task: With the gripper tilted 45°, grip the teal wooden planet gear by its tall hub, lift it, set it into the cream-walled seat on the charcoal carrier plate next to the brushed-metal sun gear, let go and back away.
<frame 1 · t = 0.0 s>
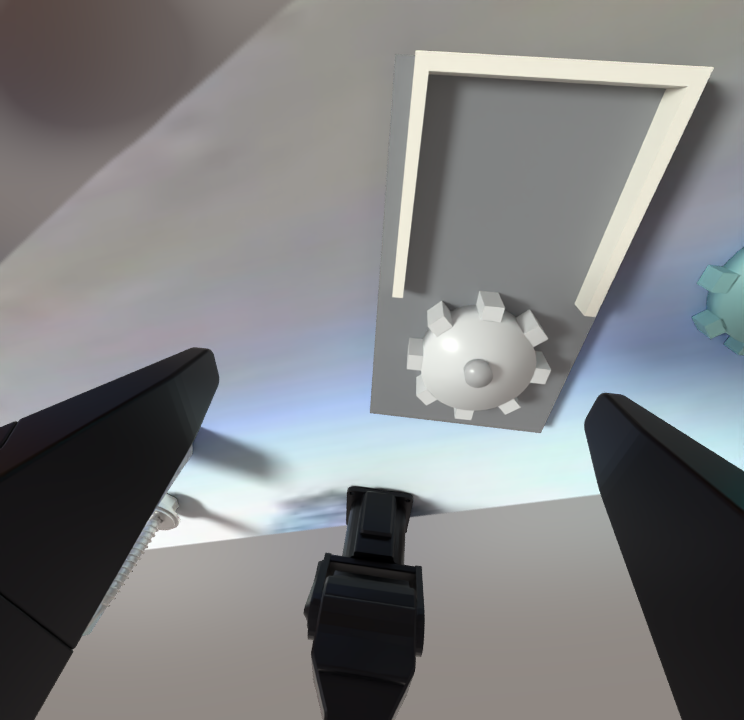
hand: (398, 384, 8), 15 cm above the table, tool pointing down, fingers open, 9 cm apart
screw: (168, 498, 41), on the table
carrier plate: (484, 287, 22), on the table
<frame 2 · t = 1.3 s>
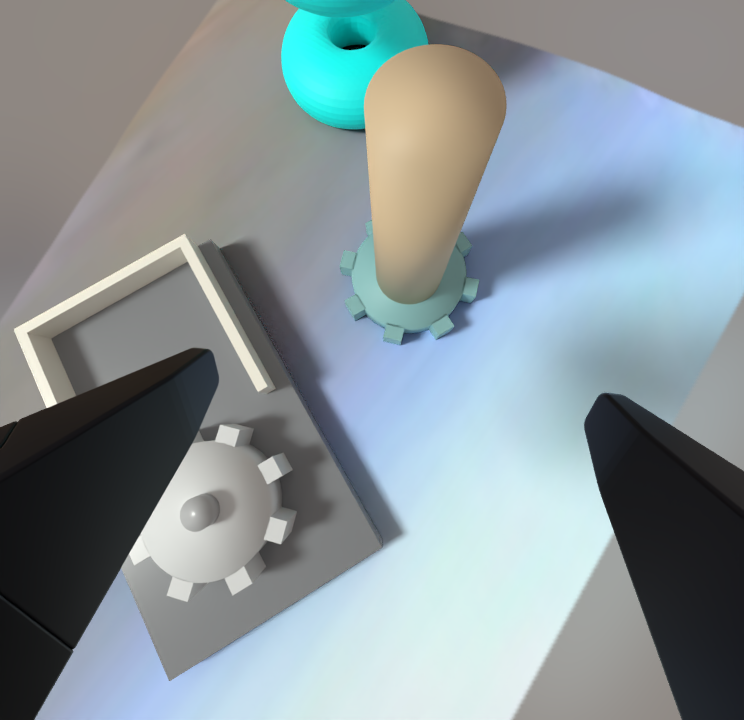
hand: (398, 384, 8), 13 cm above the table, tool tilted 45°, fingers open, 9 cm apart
carrier plate: (202, 437, 22), on the table
planet gear: (407, 280, 23), on the table
donuts: (357, 81, 26), on the table
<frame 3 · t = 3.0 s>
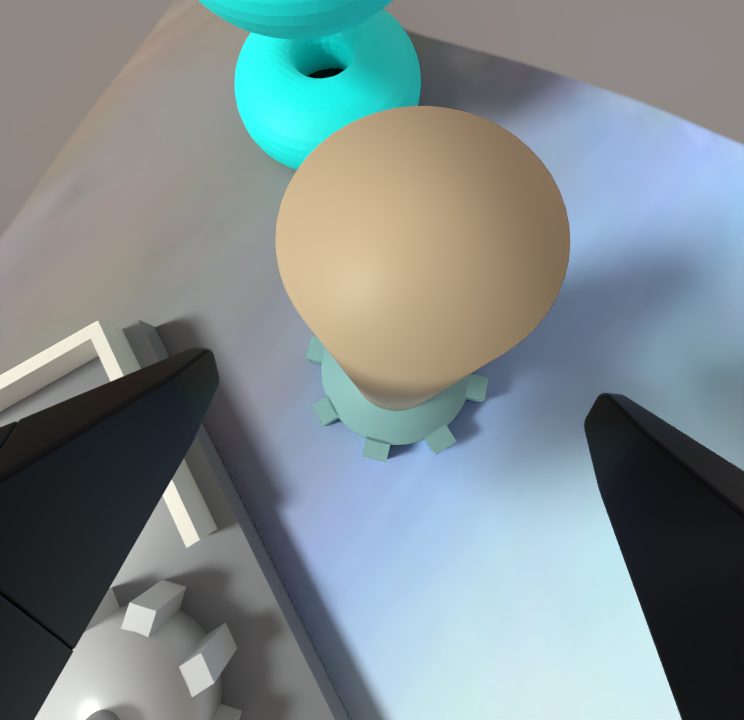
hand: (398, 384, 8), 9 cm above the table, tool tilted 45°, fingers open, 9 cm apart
carrier plate: (122, 587, 16), on the table
planet gear: (395, 371, 18), on the table
donuts: (332, 113, 21), on the table
when the fingers open (8 cm above the table, at t = 9.7 s): planet gear stays where it is, resting on carrier plate.
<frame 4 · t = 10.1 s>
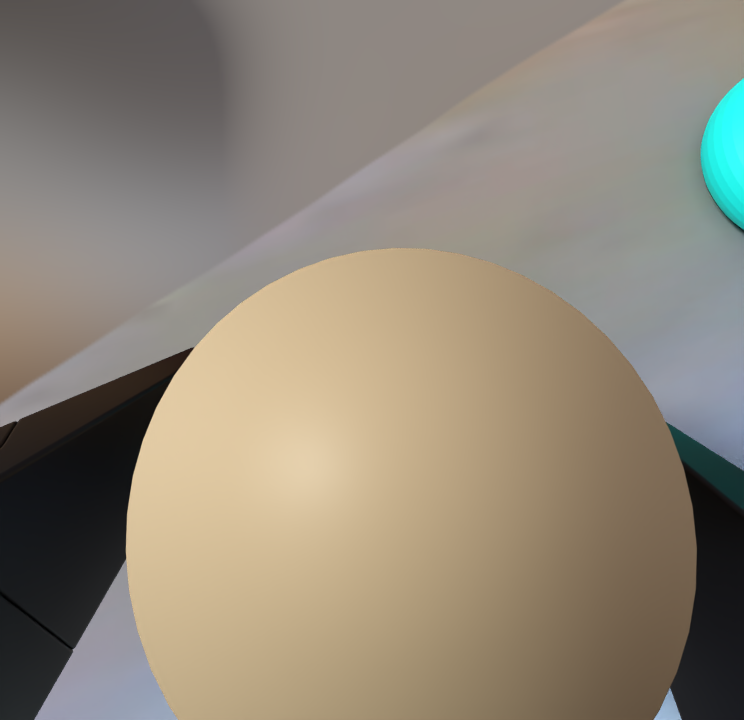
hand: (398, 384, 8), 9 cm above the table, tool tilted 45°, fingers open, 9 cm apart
planet gear: (388, 435, 15), point 1 cm above the table, touching carrier plate
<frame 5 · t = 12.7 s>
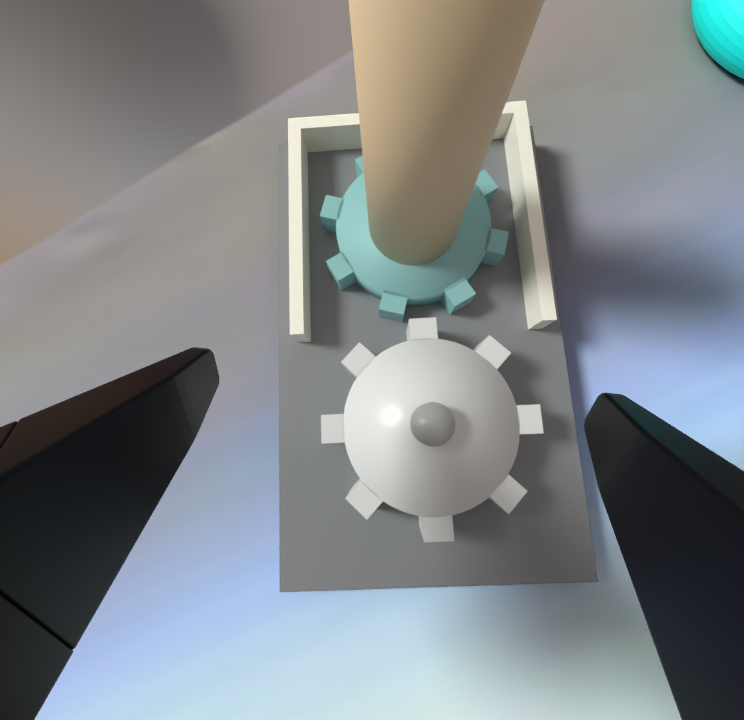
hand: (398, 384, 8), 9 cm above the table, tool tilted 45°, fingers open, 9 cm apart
carrier plate: (416, 341, 17), on the table
planet gear: (411, 237, 17), point 1 cm above the table, touching carrier plate
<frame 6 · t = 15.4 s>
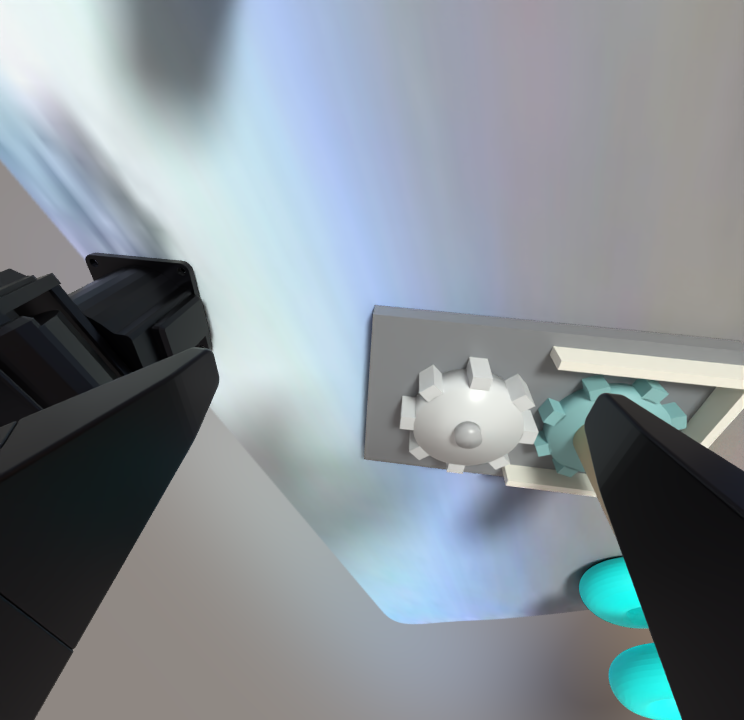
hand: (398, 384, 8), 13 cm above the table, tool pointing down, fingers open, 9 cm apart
carrier plate: (519, 403, 25), on the table
planet gear: (599, 424, 23), point 1 cm above the table, touching carrier plate
donuts: (627, 573, 36), on the table
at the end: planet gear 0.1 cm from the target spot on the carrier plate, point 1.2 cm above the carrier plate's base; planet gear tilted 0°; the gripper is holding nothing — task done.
